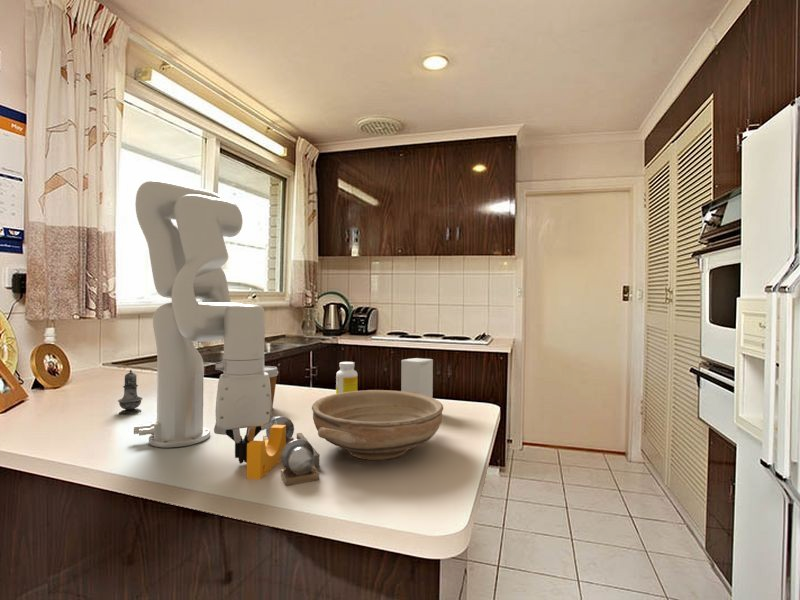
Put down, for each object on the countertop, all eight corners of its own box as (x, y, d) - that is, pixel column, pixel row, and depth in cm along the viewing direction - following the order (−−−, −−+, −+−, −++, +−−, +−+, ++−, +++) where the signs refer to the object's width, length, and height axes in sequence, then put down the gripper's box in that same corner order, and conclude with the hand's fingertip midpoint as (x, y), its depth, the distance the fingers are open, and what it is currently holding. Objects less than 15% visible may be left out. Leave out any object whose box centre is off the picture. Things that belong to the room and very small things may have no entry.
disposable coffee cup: (259, 415, 120) (259, 372, 120) (237, 410, 125) (237, 368, 125) (285, 407, 128) (285, 367, 128) (263, 403, 133) (263, 364, 133)
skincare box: (418, 418, 119) (419, 362, 119) (398, 414, 123) (399, 359, 123) (433, 411, 126) (434, 358, 126) (414, 408, 130) (415, 356, 129)
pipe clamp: (265, 454, 90) (266, 424, 90) (285, 455, 90) (285, 425, 90) (237, 478, 78) (237, 443, 78) (260, 480, 78) (260, 444, 78)
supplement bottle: (361, 403, 135) (362, 362, 135) (348, 407, 129) (348, 365, 129) (345, 400, 138) (345, 360, 138) (331, 404, 133) (331, 363, 133)
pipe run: (285, 485, 75) (286, 449, 75) (263, 441, 98) (263, 413, 98) (327, 478, 79) (327, 443, 79) (295, 436, 102) (296, 409, 101)
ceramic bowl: (367, 419, 117) (368, 382, 117) (467, 435, 104) (467, 394, 104) (267, 464, 85) (268, 414, 85) (395, 498, 71) (396, 438, 71)
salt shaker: (112, 413, 119) (113, 370, 119) (132, 408, 125) (133, 367, 125) (127, 415, 117) (127, 372, 117) (147, 410, 123) (147, 368, 122)
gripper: (202, 372, 77) (201, 474, 78) (286, 367, 84) (285, 461, 84) (202, 366, 84) (201, 459, 84) (279, 362, 91) (278, 449, 91)
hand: (243, 460), depth 84 cm, fingers closed
